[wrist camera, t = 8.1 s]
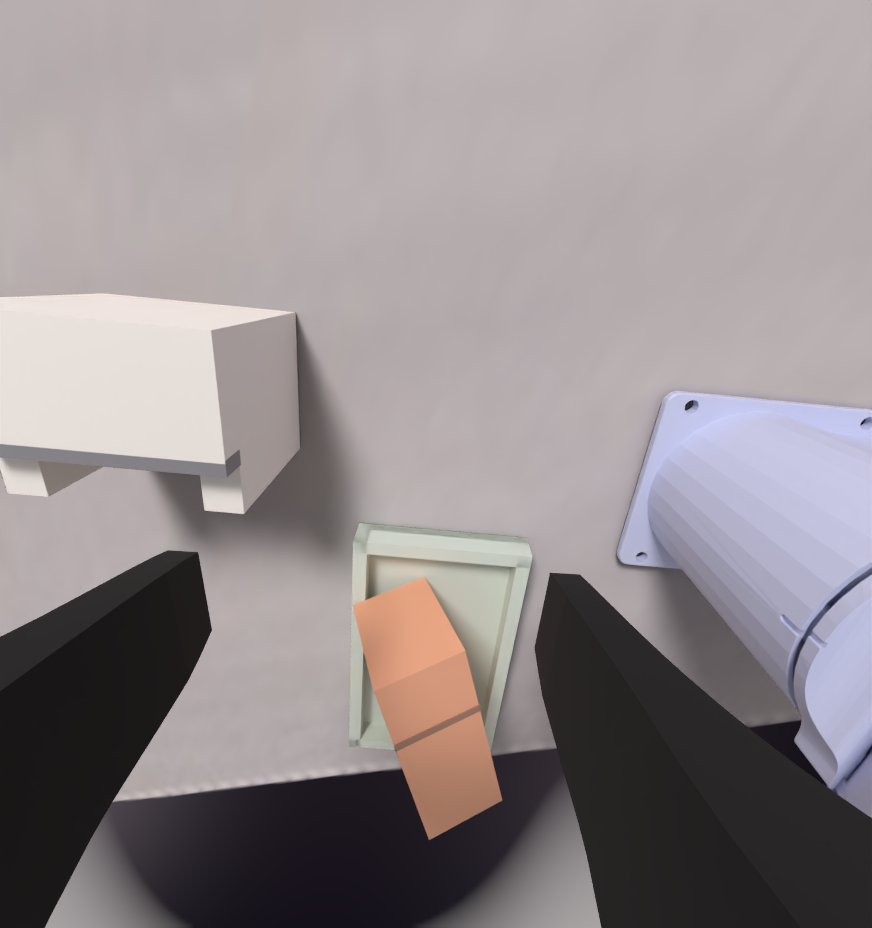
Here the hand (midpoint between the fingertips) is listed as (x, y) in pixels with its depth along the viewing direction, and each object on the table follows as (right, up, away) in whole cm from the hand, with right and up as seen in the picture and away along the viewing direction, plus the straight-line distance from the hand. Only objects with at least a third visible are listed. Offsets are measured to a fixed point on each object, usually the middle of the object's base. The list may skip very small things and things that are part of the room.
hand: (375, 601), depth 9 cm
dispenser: (-8, +6, +8) cm, 13 cm away
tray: (+1, -6, +13) cm, 15 cm away
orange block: (0, -7, +13) cm, 14 cm away
